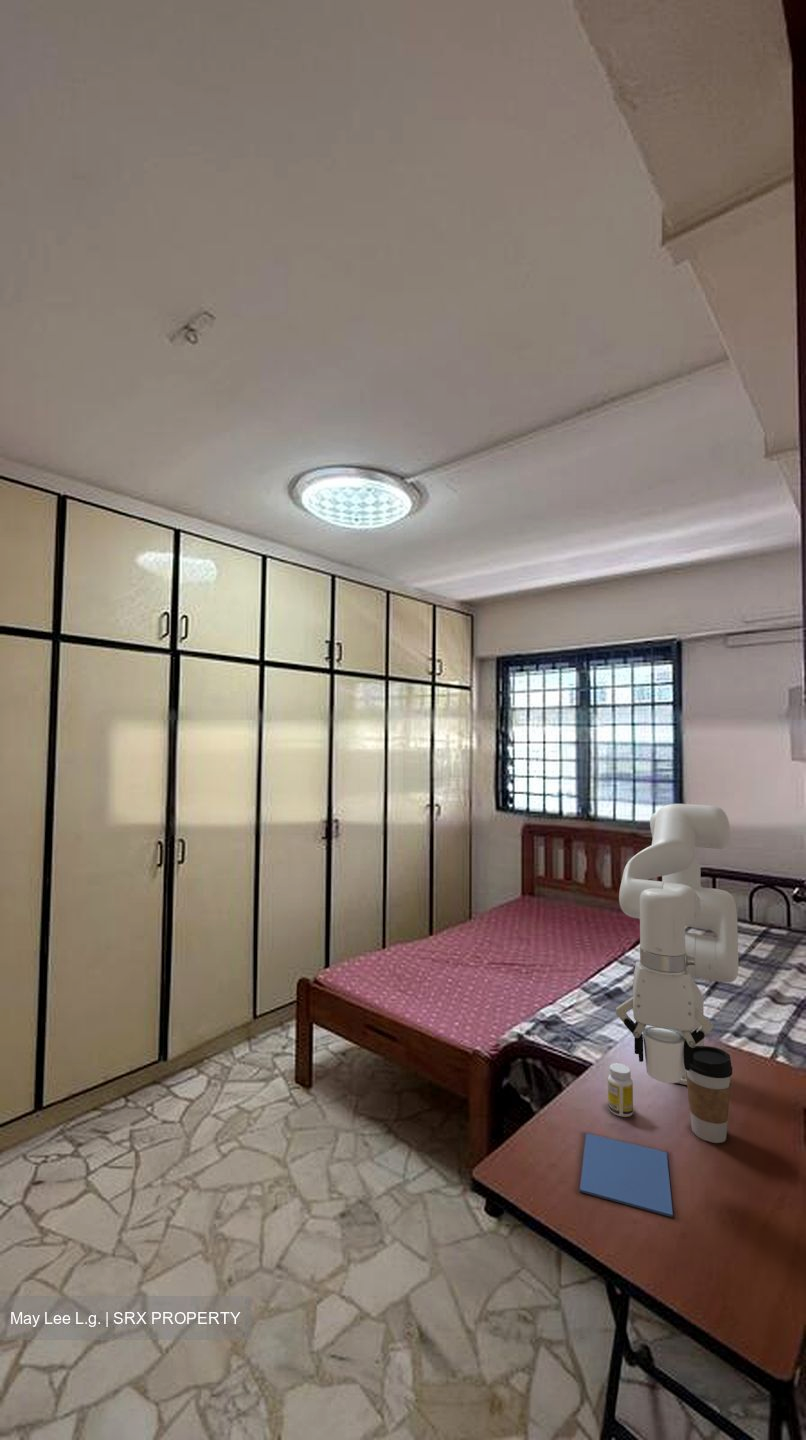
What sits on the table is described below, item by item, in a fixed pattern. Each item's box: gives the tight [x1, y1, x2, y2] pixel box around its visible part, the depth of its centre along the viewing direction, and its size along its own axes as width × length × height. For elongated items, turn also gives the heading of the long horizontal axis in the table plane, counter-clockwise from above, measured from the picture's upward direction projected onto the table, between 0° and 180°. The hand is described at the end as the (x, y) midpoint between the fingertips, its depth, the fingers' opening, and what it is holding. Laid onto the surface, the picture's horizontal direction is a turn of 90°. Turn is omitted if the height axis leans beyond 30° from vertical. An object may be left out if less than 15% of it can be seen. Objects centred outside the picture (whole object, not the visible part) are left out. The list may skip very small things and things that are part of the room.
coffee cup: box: [686, 1045, 733, 1144], centre depth 113 cm, size 8×8×15 cm
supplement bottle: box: [607, 1062, 634, 1118], centre depth 119 cm, size 5×5×8 cm
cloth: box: [579, 1132, 674, 1218], centre depth 101 cm, size 16×14×1 cm
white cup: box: [642, 1025, 684, 1084], centre depth 104 cm, size 7×7×7 cm
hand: (663, 1061), depth 104 cm, fingers closed on white cup, 6 cm apart
